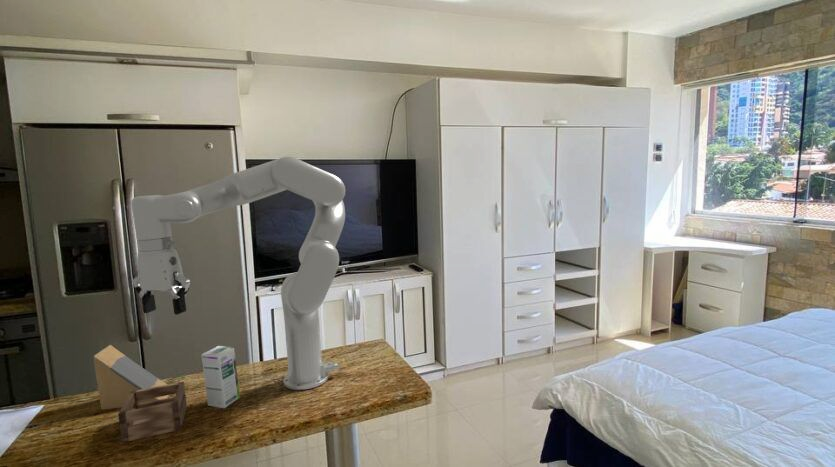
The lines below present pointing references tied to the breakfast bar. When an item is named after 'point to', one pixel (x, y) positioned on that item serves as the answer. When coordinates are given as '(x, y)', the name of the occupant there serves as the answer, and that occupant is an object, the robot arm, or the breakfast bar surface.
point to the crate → (152, 412)
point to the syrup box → (220, 376)
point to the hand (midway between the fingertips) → (165, 312)
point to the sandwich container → (121, 378)
